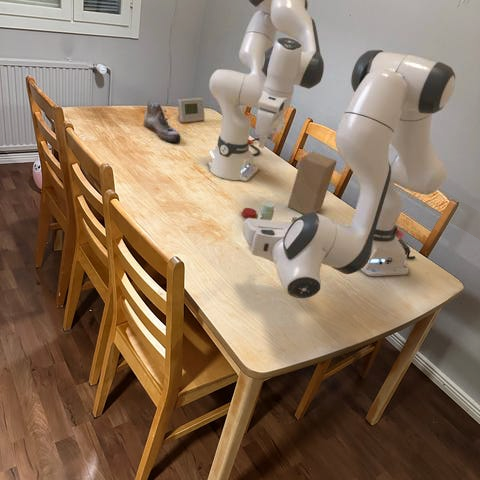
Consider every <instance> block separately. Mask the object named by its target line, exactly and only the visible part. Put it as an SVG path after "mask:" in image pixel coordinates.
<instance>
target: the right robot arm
mask: <svg viewBox="0 0 480 480" xmlns="http://www.w3.org/2000/svg"><path fill="white" fill-rule="evenodd" d="M350 83H351V87H352V90H353V92H354V93H353V95H352V96H351V98H350V99H349V101H348V104H347V106H346V107H345V110H344V112H343V114H342V117H341V118H340V121H339V124H338V126H337V129H336V132H335V137H334V141H335V147H336V150H337V152H338V154H339V156H340V158H341V160H342V161H343V162H344V164H345V165H346V166H347V167H348V168H349V169H350V170H351V171H352V172H353V173H352V174H354V175H355V177H356V179H357V181H358V183H359V189H360V190H359V196H358V199H357V203H356V206H355V210H354V213H353V216H352V220H351V224H350V225H348V226H347V225H345V224H342V223H340V222H337V221H335V220H333V219H332V218H329V217H327V216H324V215H322V214H320V213H318V212H316V213H315V212H310V213H306V214H302V215H300V216H299V217H296V216H293V217H292V218H291V222H289V221H281V220H273V219H272V220H264V219H265V215H264V214H261V213H257V217H256V218H255V219H254V218H247V219H246V218H245V220H244V222H243V226H242V233H243V237H244V240H245V242H246V244H247V245H248V246H250V253H251V255H253V256H255V257H258V258H259V257H260V258H261V259H265V260H267V261H270V262H272V263H274V264H275V270H276V272H277V276H278V279H279V282H280V284H281V286H282V288H283V290H284V291H285V292H286V293H287V294H288V295H289V296H291V297H293V298H297V299H308V298H311V297H313V296H315V295H317V294H318V293H319V292H320V290H321V287H322V282H321V280H322V279H321V276H320V274H321V273H320V272H321V267H322V265H325V266H328V267H331V268H332V269H334V270H336V271H338V272H340V273H342V274H343V275H351V274H354V273H357V272H358V271H361V272H363V273H364V274H365V275H367V276H369V277H382V276H385V277H386V276H399V275H408V273H409V266H408V263H407V262H406V259H408V260H412V259H416V256H415V255H413V256H410V254H411V248H410V246H408V244H407V243H406V242H405V241H404V240H403V239H401V238H403V237H404V232H403V231H402V230H401V229H398V228H399V227H398V226H397V225H396V224H397V222H398V220H399V217H400V215H401V212H402V210H403V201H402V198H401V196H400V195H399V194H398V192H397V190H396V188H395V185H397V186H399V187H402V188H403V189H406V190H408V191H409V192H413V193H416V194H420V195H425V196H428V195H431V194H433V193H435V192H437V191H438V190H440V188H441V187H442V186H443V185H444V183H445V181H446V178H447V167H446V164H445V163H444V162H443V160H441V158H440V157H439V156H438V154H437V153H436V151H435V149H434V146H433V143H432V139H431V135H430V131H431V130H430V129H431V121H432V116H433V114H436V113H438V112H440V111H441V110H443V109H444V107H445V106H446V105H447V103H448V102H449V101H450V99H451V98H452V96H453V94H454V92H455V91H454V90H455V85H456V73H455V72H454V70H453V67H451V66H449V65H448V64H446V63H444V62H441V61H437V62H436V61H433V60H430V59H427V58H424V57H422V56H418V55H414V54H404V53H399V52H389V51H383V50H382V49H372V50H371V49H369V50H367V51H365V52H364V53H362V54H361V55H360V56H359V57H358V58H357V60H356V62H355V64H354V67H353V69H352V72H351V78H350ZM394 184H395V185H394Z"/></svg>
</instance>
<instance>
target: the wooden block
mask: <svg viewBox="0 0 480 480" xmlns="http://www.w3.org/2000/svg"><path fill="white" fill-rule="evenodd" d="M337 163H338V162H337V160H336V159H333V158H330V157H328V156H326V155H323V154H321V153H318V152H315V151H310V152H309V153H307V154H305V155H304V156H302V157H301V158H300V161H299V165H298V167H297V168H298V169H297V172H296V175H295V179H294V183H293V186H292V189H291V193H290V196H289V199H288V203H287V208H290V209H291V210H294V211H296V212H298V213H301V214H302V215H304V214H306V213H310V212H315V213H318V212H319V211H321V209H322V207H323V205H324V201H325V198H326V195H327V194H328V193H327V192H328V189H329V186H330V184H331V180H332V178H333V174H334V171H335V168H336V165H337Z"/></svg>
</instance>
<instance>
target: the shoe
mask: <svg viewBox="0 0 480 480" xmlns="http://www.w3.org/2000/svg"><path fill="white" fill-rule="evenodd" d="M164 112H165V113H166V112H167V110H166V109H163V108H162V107H161V104H160V103H155V101H153V103H150V101H147V106H146V109H145V112H144V116H143V124H144V125H143V126H144V127H146V128H149V130H152V131H154V132H155V133H156V134H157V136H158V138H159V139H160V140H162V141H166V142H168V143H172V144H173V143H174V144H178V143H180V142H181V134H180V133H179V132H178V131H177V130H176V129H175V128H173V127H172V126H170V125H169V122H168V118H167V117H166V116H165V113H164Z"/></svg>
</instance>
